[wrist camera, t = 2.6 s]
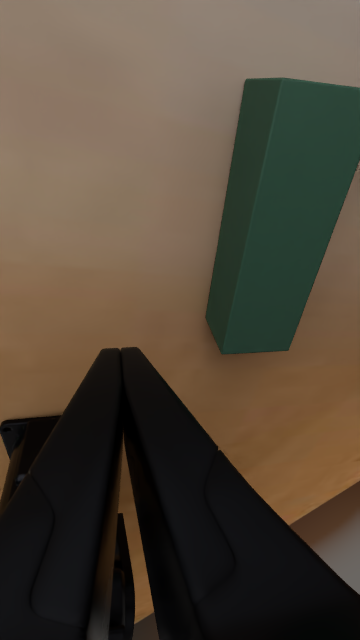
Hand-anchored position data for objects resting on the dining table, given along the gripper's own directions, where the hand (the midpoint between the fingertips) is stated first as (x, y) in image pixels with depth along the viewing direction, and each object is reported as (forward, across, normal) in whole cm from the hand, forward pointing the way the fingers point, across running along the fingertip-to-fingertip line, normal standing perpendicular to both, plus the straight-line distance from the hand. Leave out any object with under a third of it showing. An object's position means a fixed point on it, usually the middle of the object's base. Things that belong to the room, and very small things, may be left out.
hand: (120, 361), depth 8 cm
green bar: (+10, -8, 0) cm, 13 cm away
